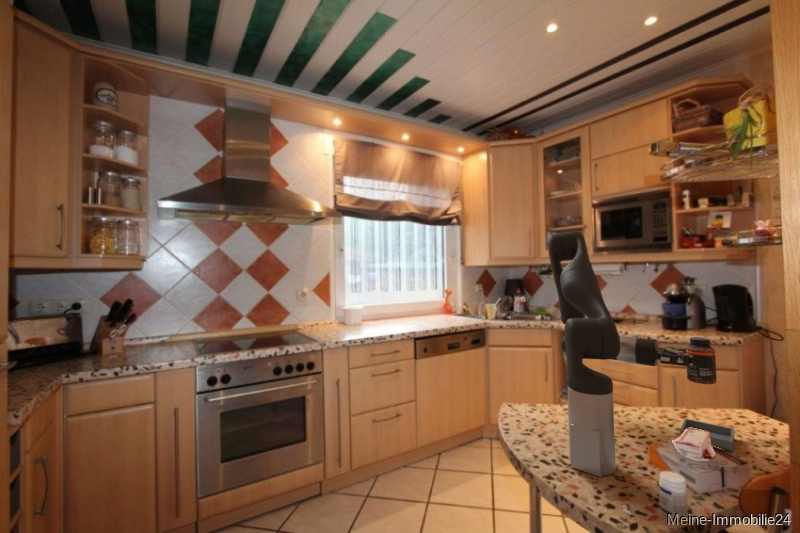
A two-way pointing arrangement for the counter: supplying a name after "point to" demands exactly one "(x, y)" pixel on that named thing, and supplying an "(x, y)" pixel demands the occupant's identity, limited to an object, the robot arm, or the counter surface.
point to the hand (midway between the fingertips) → (713, 359)
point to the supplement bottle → (699, 372)
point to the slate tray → (713, 433)
